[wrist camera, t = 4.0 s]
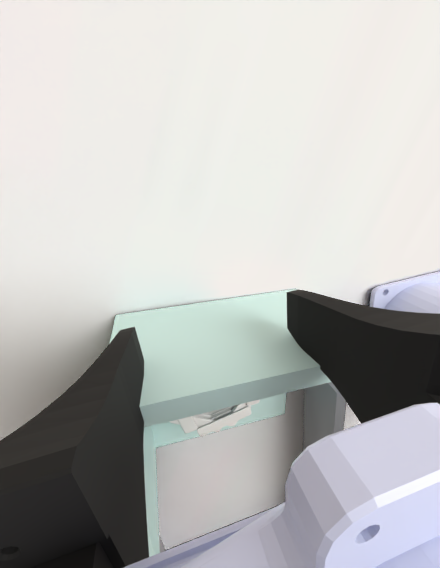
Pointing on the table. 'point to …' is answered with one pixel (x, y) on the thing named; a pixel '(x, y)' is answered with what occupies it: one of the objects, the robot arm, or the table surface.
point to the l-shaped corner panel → (213, 373)
